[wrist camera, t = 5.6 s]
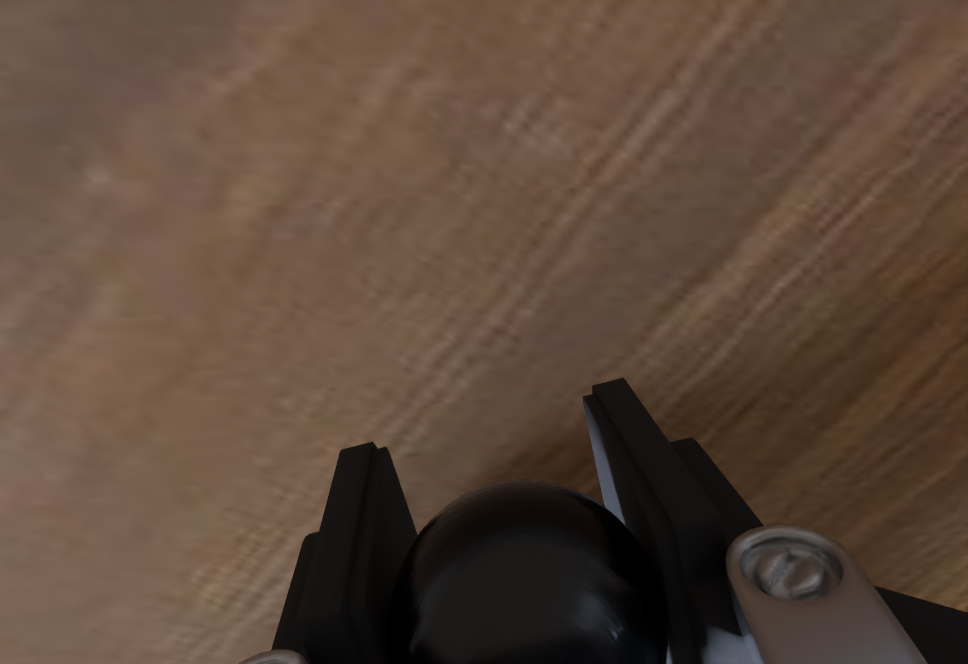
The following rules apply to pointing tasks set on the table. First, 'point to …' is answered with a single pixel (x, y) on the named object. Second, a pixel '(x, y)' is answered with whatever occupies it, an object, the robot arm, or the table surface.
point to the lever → (527, 584)
